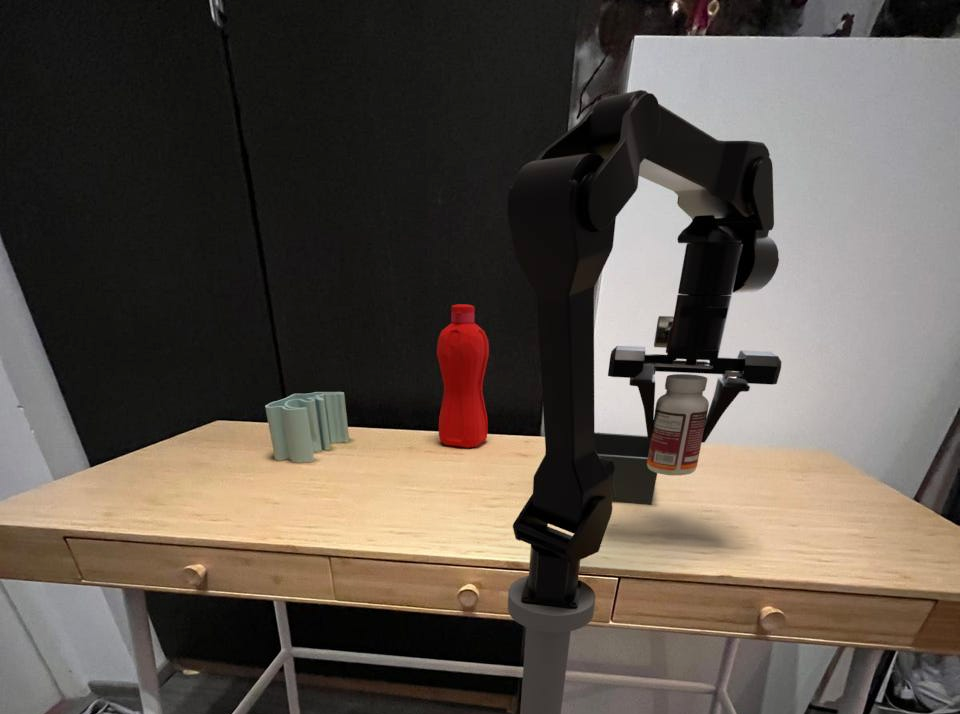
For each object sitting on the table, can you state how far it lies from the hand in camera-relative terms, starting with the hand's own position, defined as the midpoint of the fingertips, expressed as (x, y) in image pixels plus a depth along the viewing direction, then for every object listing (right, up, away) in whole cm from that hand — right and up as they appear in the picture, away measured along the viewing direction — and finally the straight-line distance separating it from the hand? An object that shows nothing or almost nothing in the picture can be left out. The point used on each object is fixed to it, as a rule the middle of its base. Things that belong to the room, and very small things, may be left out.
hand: (675, 440), depth 71 cm
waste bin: (-3, +1, +25) cm, 25 cm away
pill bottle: (0, -3, +2) cm, 4 cm away
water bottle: (-28, +16, +48) cm, 58 cm away
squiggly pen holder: (-58, +13, +42) cm, 73 cm away
